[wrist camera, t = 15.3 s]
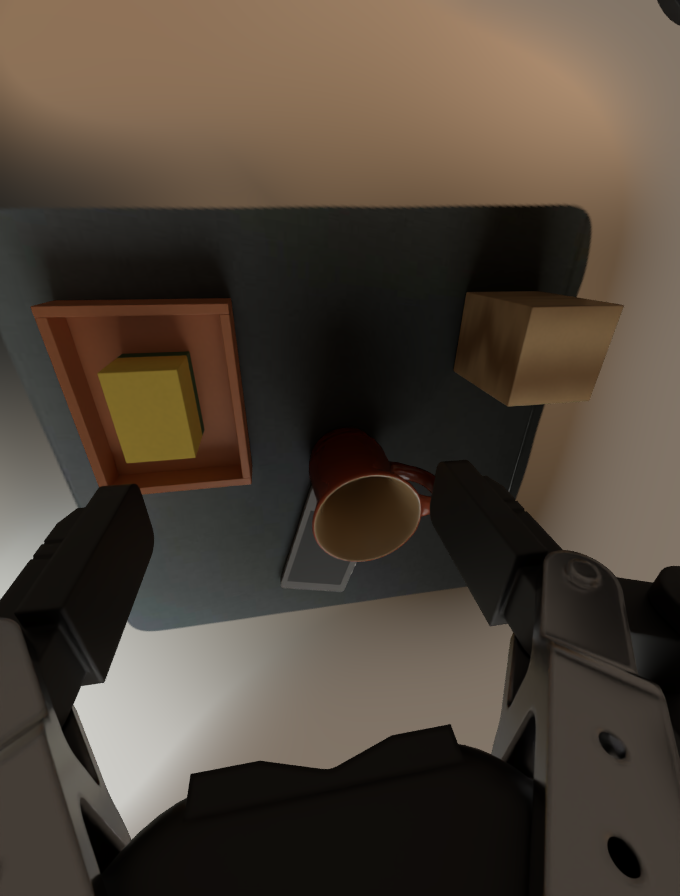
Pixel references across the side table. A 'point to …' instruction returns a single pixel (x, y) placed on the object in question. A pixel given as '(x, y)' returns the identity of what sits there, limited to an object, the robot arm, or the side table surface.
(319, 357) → the side table surface
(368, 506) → the mug
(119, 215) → the side table surface
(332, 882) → the robot arm
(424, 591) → the side table surface
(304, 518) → the smartphone
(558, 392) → the tall wooden block
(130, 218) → the side table surface
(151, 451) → the sponge
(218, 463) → the tray
